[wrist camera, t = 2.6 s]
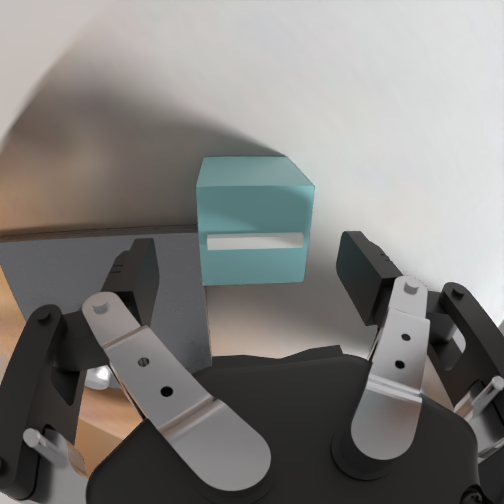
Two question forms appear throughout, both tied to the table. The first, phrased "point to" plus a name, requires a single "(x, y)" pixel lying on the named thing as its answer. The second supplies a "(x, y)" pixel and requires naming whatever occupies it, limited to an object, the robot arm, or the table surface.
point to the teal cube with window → (253, 220)
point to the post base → (95, 273)
